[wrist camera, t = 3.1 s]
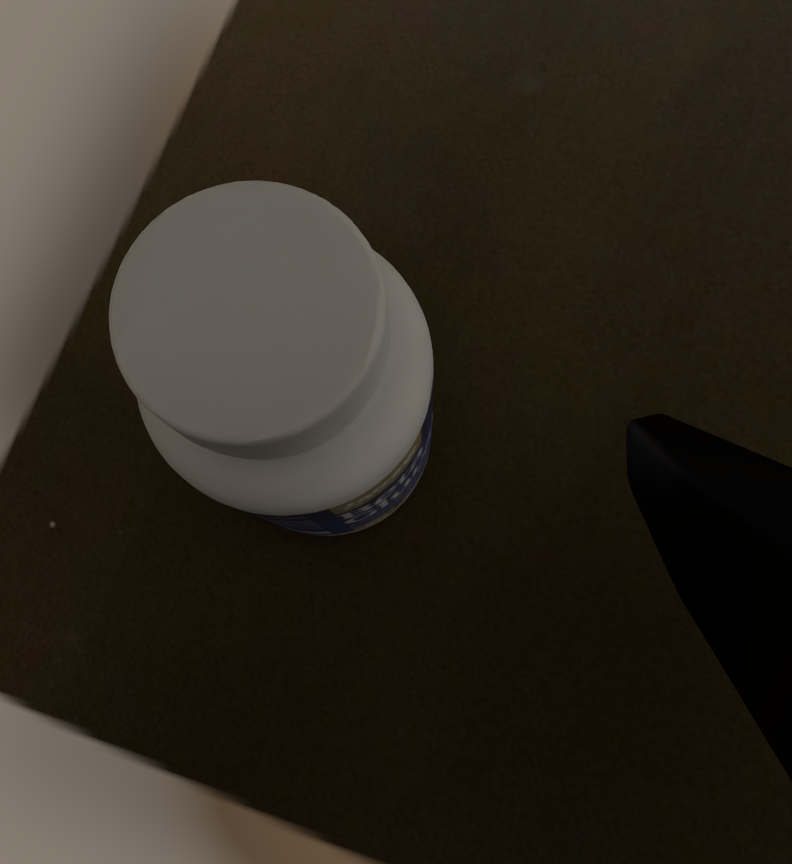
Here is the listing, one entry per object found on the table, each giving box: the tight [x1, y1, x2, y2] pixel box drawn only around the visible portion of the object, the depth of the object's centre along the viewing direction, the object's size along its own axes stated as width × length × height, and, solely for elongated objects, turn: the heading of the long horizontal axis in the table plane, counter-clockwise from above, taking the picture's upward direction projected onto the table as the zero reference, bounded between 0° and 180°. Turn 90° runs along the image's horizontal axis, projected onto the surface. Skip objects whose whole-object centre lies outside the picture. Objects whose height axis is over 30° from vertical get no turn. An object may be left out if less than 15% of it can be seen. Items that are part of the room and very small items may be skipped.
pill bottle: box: [109, 181, 434, 536], centre depth 15 cm, size 5×5×10 cm
